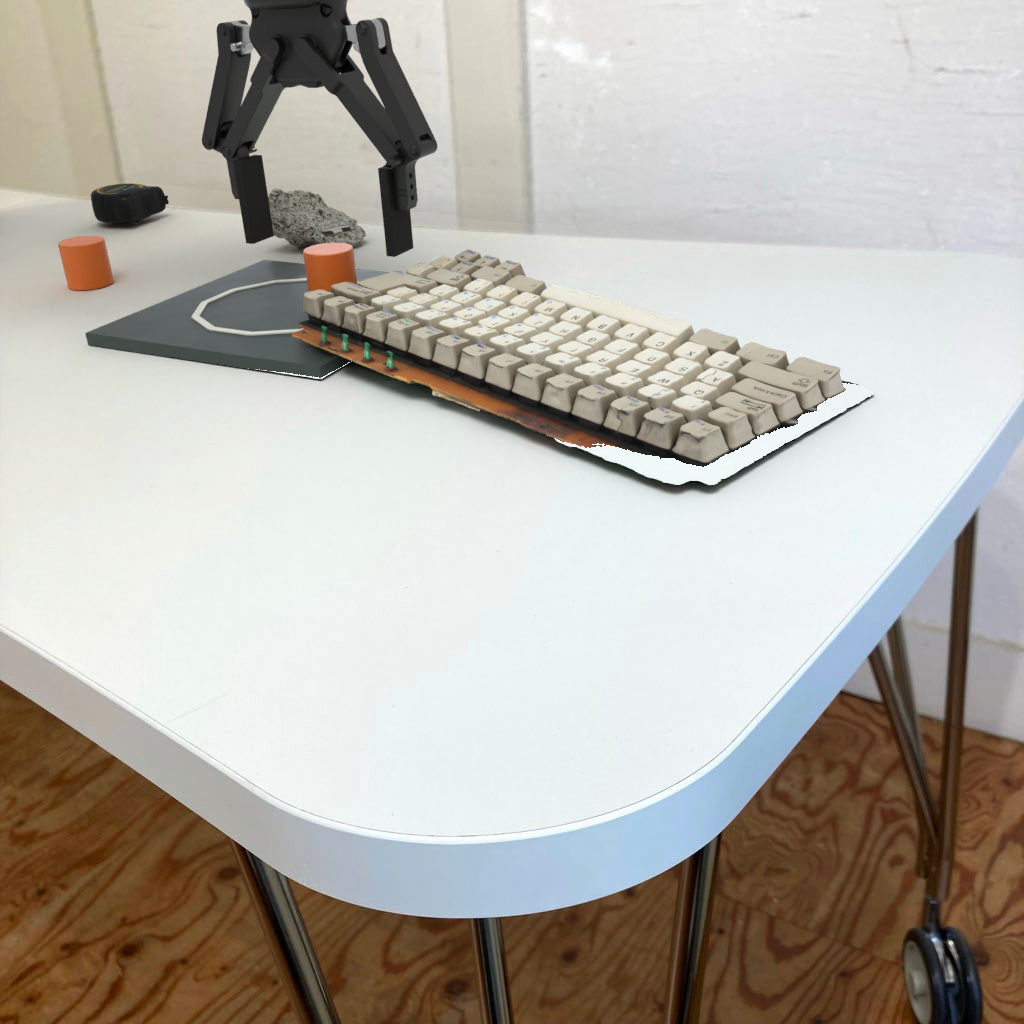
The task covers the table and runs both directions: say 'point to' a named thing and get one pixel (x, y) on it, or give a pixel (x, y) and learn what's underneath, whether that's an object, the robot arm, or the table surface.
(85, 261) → the orange cylinder
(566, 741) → the table surface
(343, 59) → the robot arm
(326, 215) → the rock sample
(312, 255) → the short orange drum
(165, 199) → the tape measure
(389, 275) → the mechanical keyboard
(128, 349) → the slate board
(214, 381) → the table surface
